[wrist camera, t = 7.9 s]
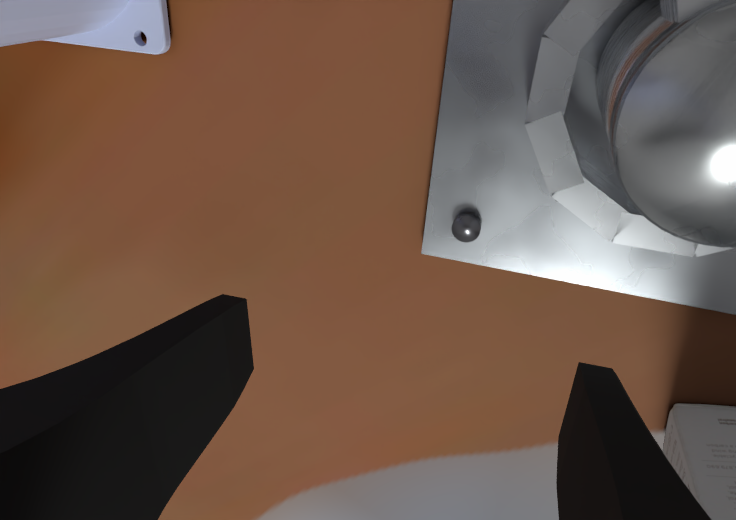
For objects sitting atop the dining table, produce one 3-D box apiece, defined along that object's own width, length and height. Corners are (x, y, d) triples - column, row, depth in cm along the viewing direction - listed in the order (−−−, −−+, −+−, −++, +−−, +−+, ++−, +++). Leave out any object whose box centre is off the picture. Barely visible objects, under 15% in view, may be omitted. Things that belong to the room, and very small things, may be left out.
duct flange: (424, 247, 21) (409, 280, 19) (486, -234, 14) (474, -268, 12) (842, 327, 18) (880, 377, 16) (1191, -236, 11) (1344, -282, 9)
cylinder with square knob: (605, 174, 17) (628, 263, 12) (571, -65, 15) (580, -76, 10) (794, 138, 15) (911, 226, 10) (792, -144, 13) (950, -211, 8)
